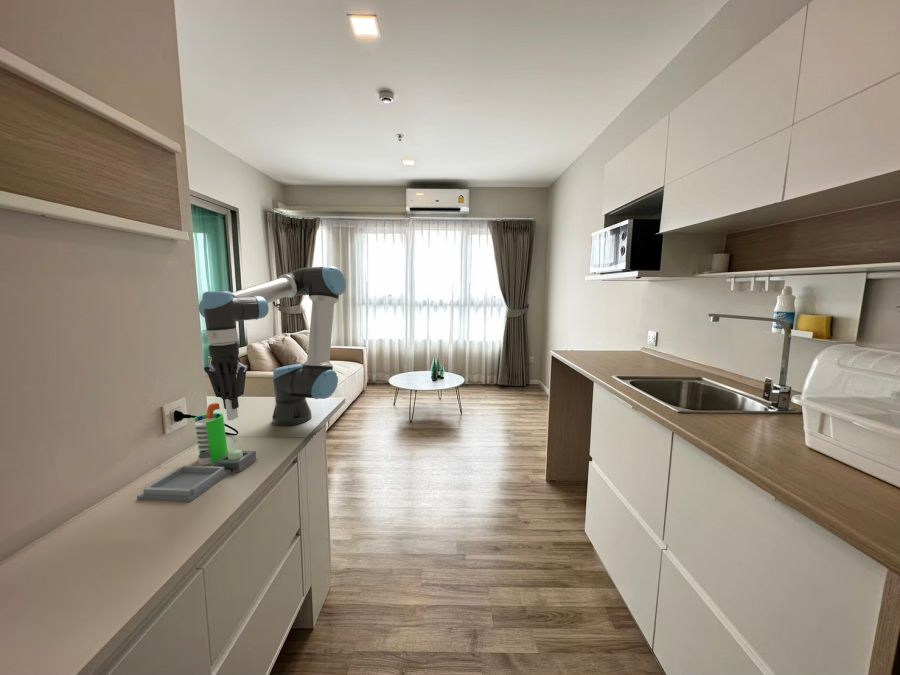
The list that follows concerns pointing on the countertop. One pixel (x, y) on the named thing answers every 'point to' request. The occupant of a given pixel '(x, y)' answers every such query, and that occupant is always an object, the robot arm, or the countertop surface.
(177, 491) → the grey square tray
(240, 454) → the button
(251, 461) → the dark grey square holder
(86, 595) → the countertop surface
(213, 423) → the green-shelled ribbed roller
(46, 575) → the countertop surface
